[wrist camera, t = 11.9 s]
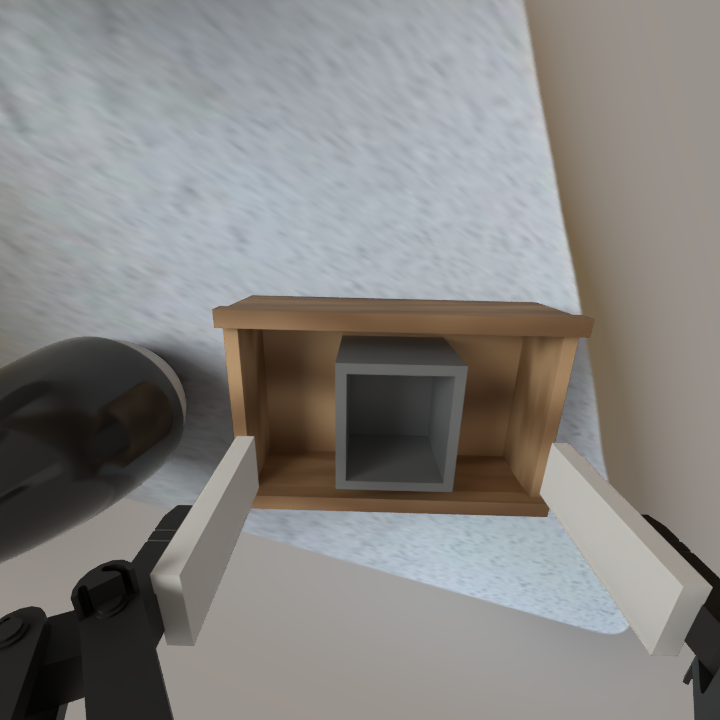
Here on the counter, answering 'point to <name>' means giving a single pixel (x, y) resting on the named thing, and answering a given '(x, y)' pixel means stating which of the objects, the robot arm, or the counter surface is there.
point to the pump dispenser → (80, 434)
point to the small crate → (397, 413)
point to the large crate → (405, 319)
